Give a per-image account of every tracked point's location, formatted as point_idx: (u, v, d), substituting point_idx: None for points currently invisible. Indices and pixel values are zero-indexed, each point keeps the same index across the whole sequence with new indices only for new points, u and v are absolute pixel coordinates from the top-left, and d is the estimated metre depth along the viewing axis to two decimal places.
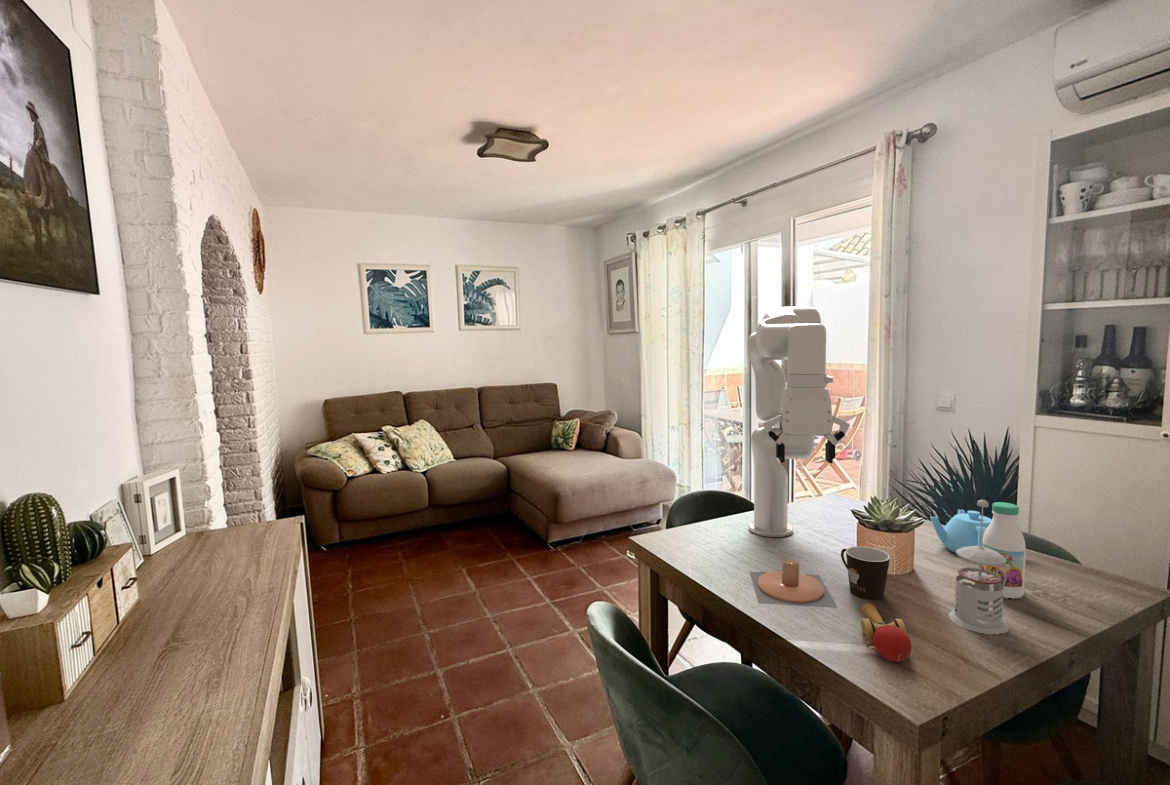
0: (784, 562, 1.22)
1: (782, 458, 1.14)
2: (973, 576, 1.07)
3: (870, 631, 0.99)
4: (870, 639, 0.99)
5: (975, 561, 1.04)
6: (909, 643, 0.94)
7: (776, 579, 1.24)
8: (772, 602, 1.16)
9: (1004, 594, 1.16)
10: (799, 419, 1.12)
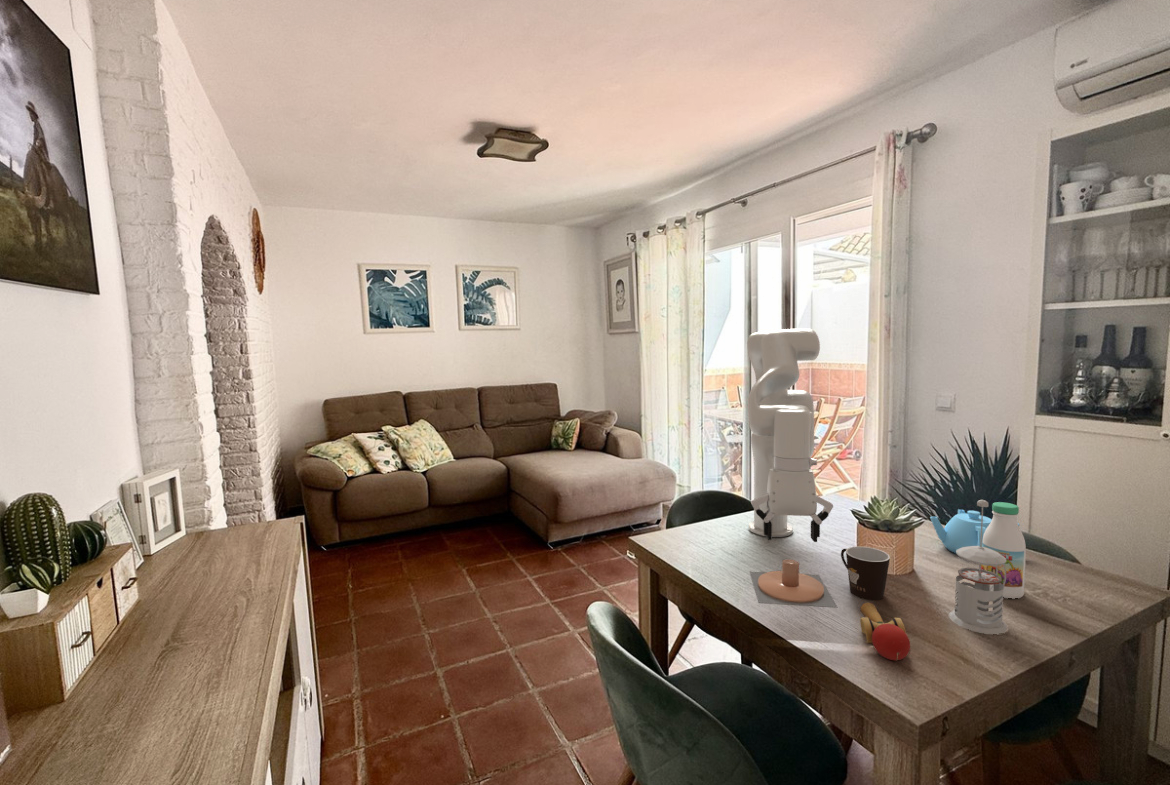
0: (784, 562, 1.22)
1: (769, 536, 1.20)
2: (973, 576, 1.07)
3: (869, 630, 0.99)
4: (869, 638, 0.99)
5: (975, 561, 1.04)
6: (908, 642, 0.94)
7: (776, 579, 1.24)
8: (772, 602, 1.16)
9: (1004, 594, 1.16)
10: (785, 500, 1.18)
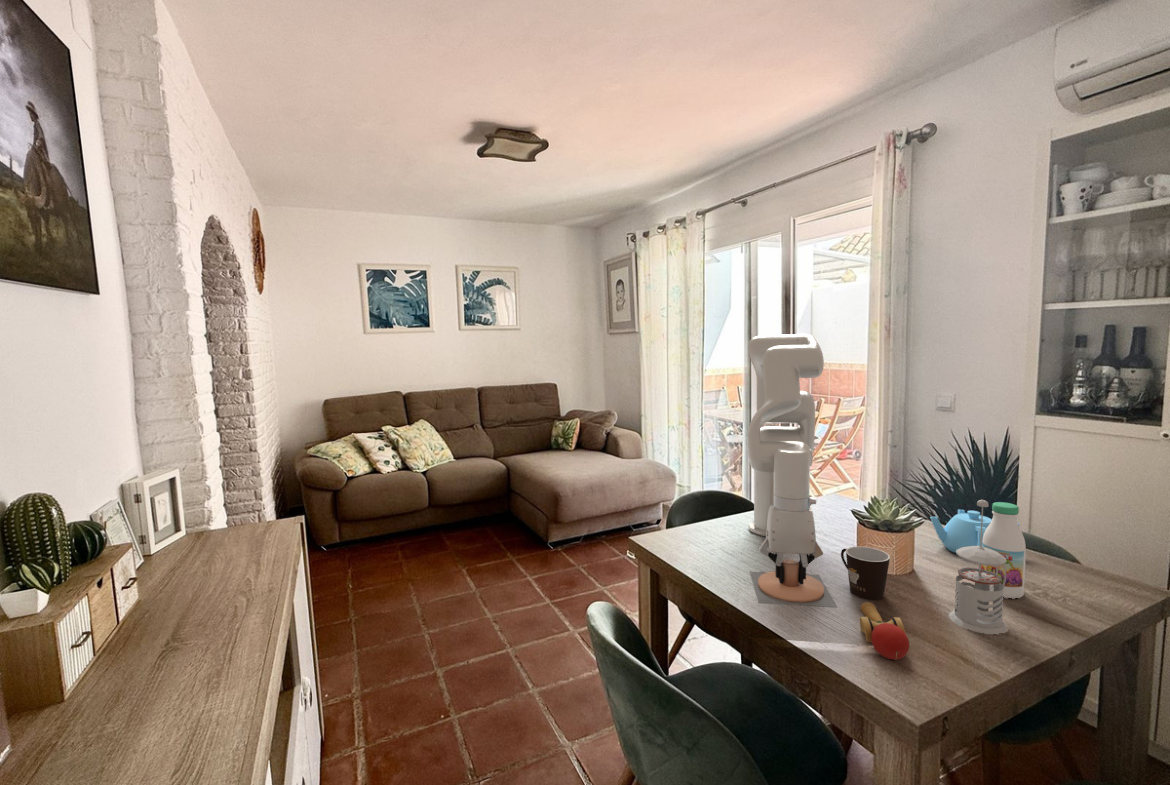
0: (784, 562, 1.22)
1: (781, 579, 1.21)
2: (973, 576, 1.07)
3: (868, 629, 1.00)
4: (868, 637, 0.99)
5: (975, 561, 1.04)
6: (907, 641, 0.95)
7: (776, 579, 1.24)
8: (772, 602, 1.16)
9: (1004, 594, 1.16)
10: (784, 539, 1.19)
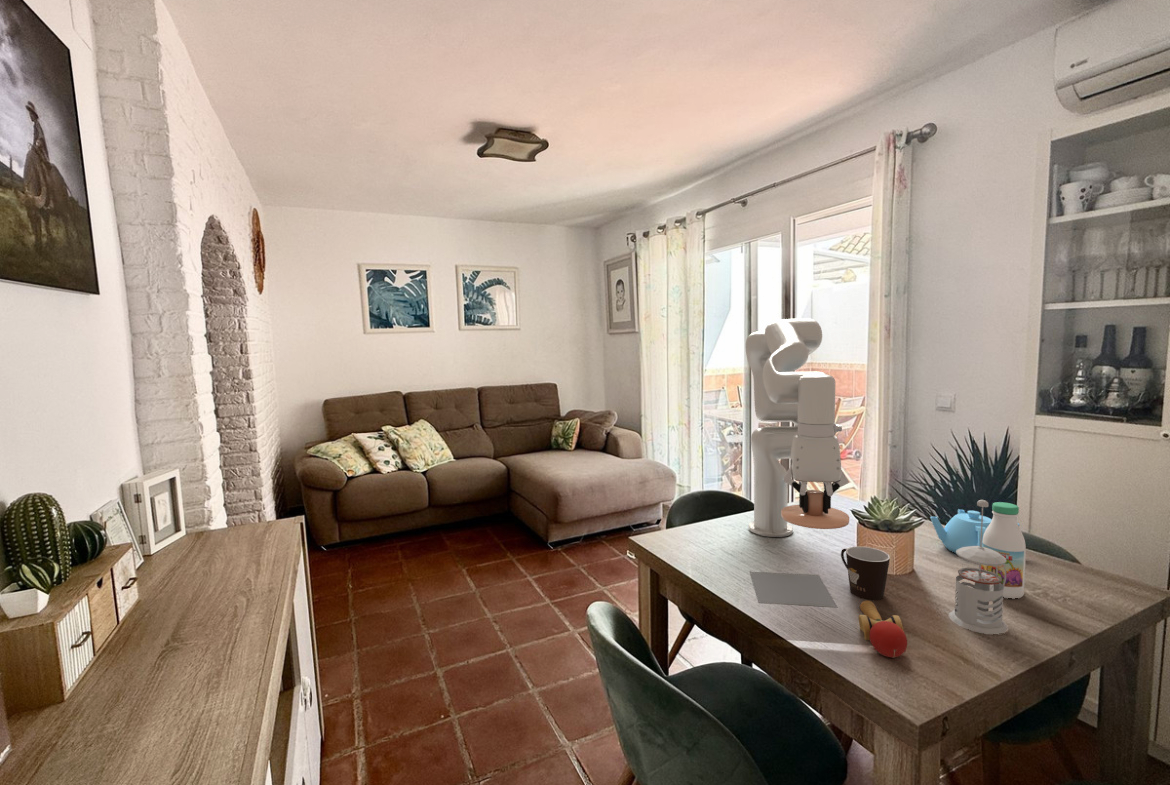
0: (808, 492, 1.20)
1: (805, 509, 1.19)
2: (973, 576, 1.07)
3: (867, 627, 1.00)
4: (867, 635, 1.00)
5: (975, 561, 1.04)
6: (905, 639, 0.95)
7: (800, 510, 1.22)
8: (772, 602, 1.16)
9: (1004, 594, 1.16)
10: (809, 466, 1.17)
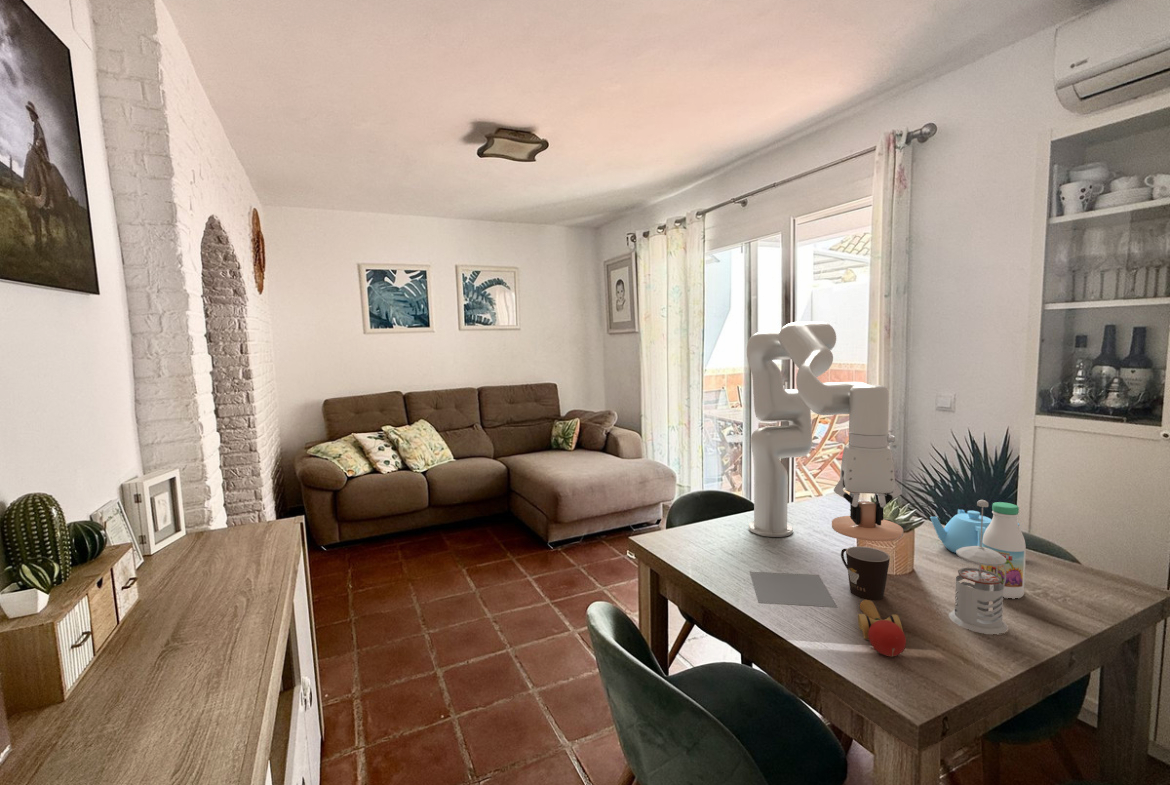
0: (860, 503, 1.18)
1: (858, 520, 1.17)
2: (973, 576, 1.07)
3: (866, 626, 1.00)
4: (866, 634, 1.00)
5: (975, 561, 1.04)
6: (903, 638, 0.95)
7: (850, 522, 1.21)
8: (772, 602, 1.16)
9: (1004, 594, 1.16)
10: (862, 477, 1.16)
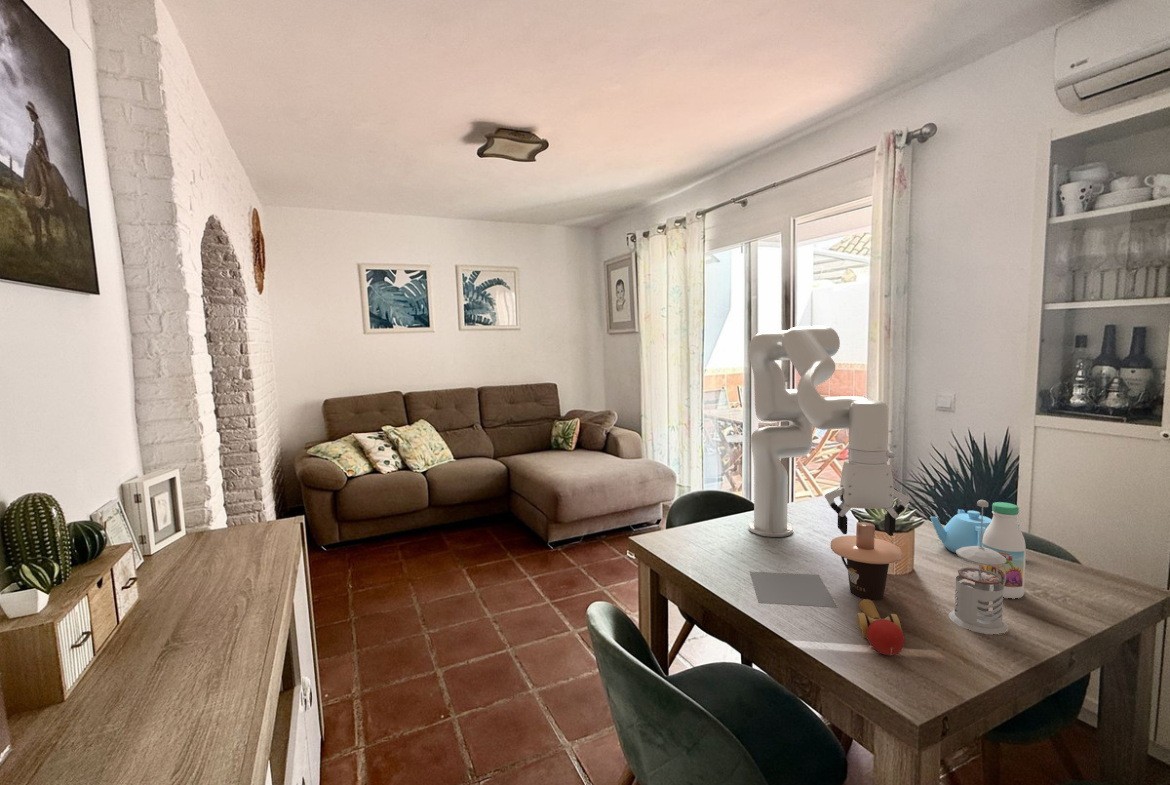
0: (859, 524, 1.19)
1: (845, 530, 1.18)
2: (973, 576, 1.07)
3: (865, 625, 1.01)
4: (864, 633, 1.01)
5: (975, 561, 1.04)
6: (902, 637, 0.96)
7: (849, 543, 1.22)
8: (772, 602, 1.16)
9: (1004, 594, 1.16)
10: (861, 493, 1.16)
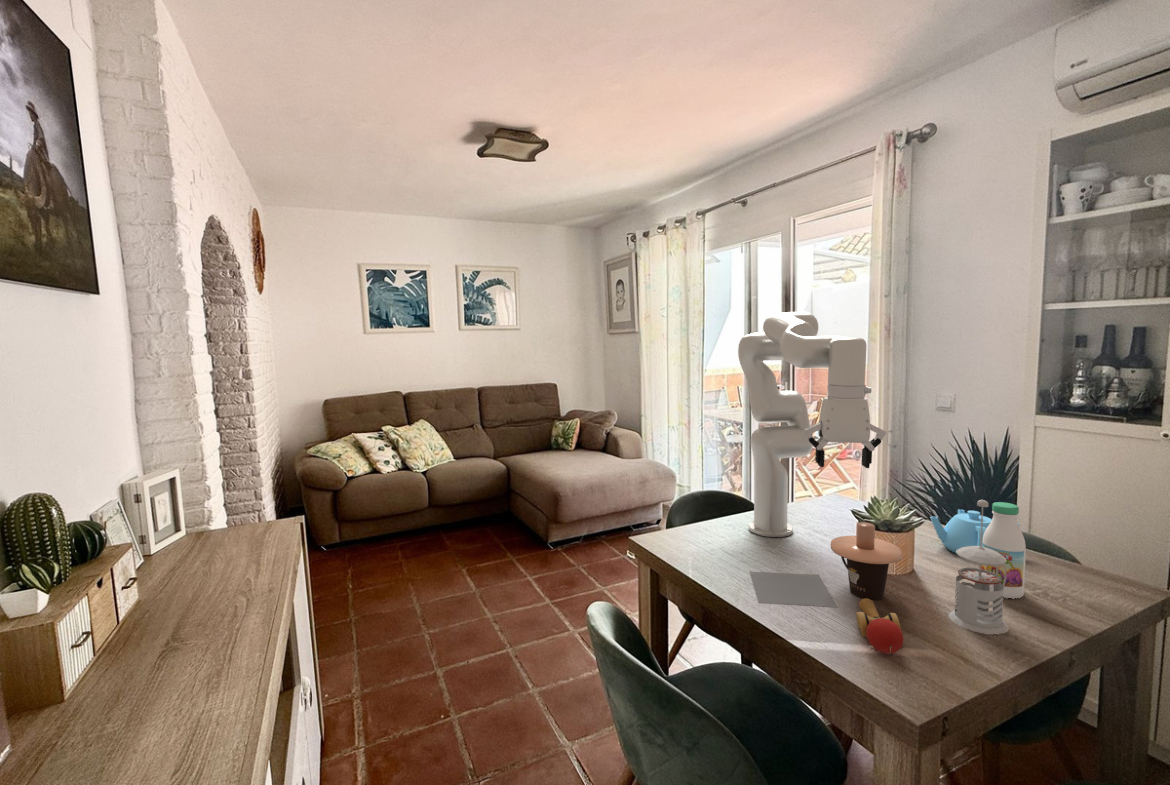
0: (859, 524, 1.19)
1: (822, 463, 1.22)
2: (973, 576, 1.07)
3: (864, 624, 1.01)
4: (864, 632, 1.01)
5: (975, 561, 1.04)
6: (901, 636, 0.96)
7: (849, 543, 1.22)
8: (772, 602, 1.16)
9: (1004, 594, 1.16)
10: (839, 427, 1.20)
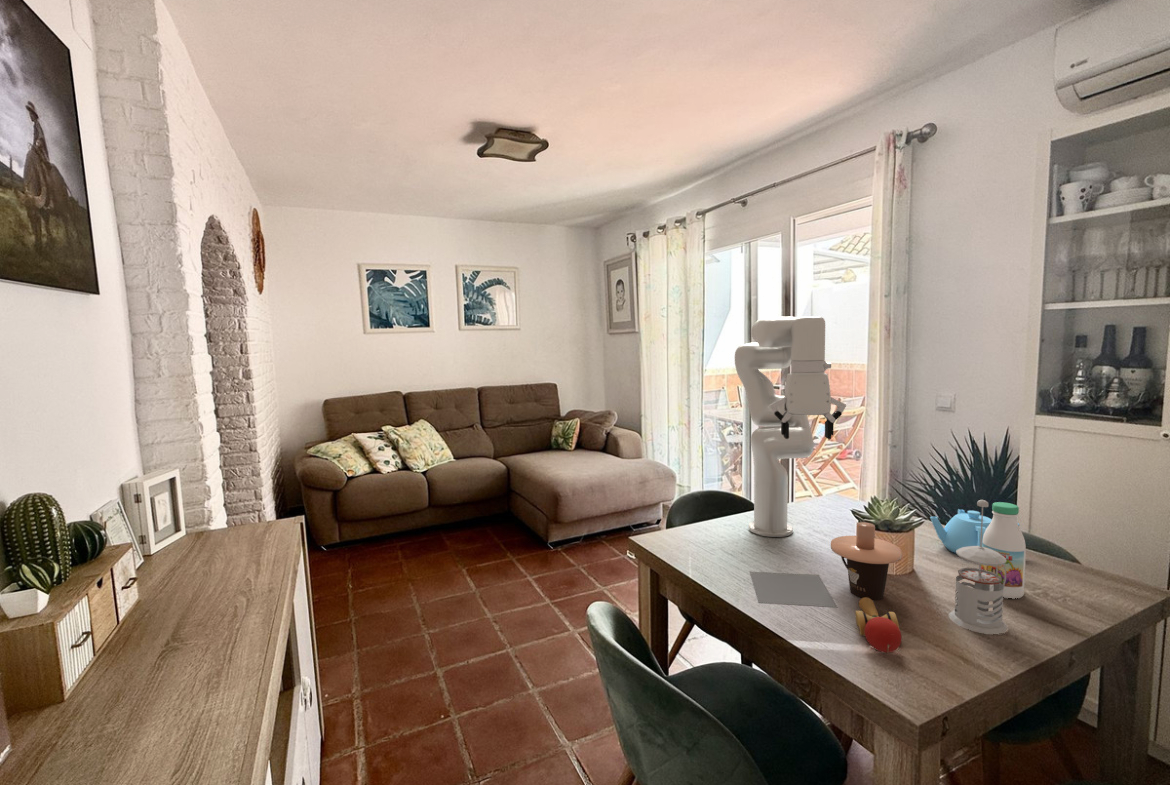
0: (859, 524, 1.19)
1: (787, 435, 1.30)
2: (973, 576, 1.07)
3: (862, 622, 1.02)
4: (862, 630, 1.02)
5: (975, 561, 1.04)
6: (899, 634, 0.97)
7: (849, 543, 1.22)
8: (772, 602, 1.16)
9: (1004, 594, 1.16)
10: (802, 400, 1.28)
